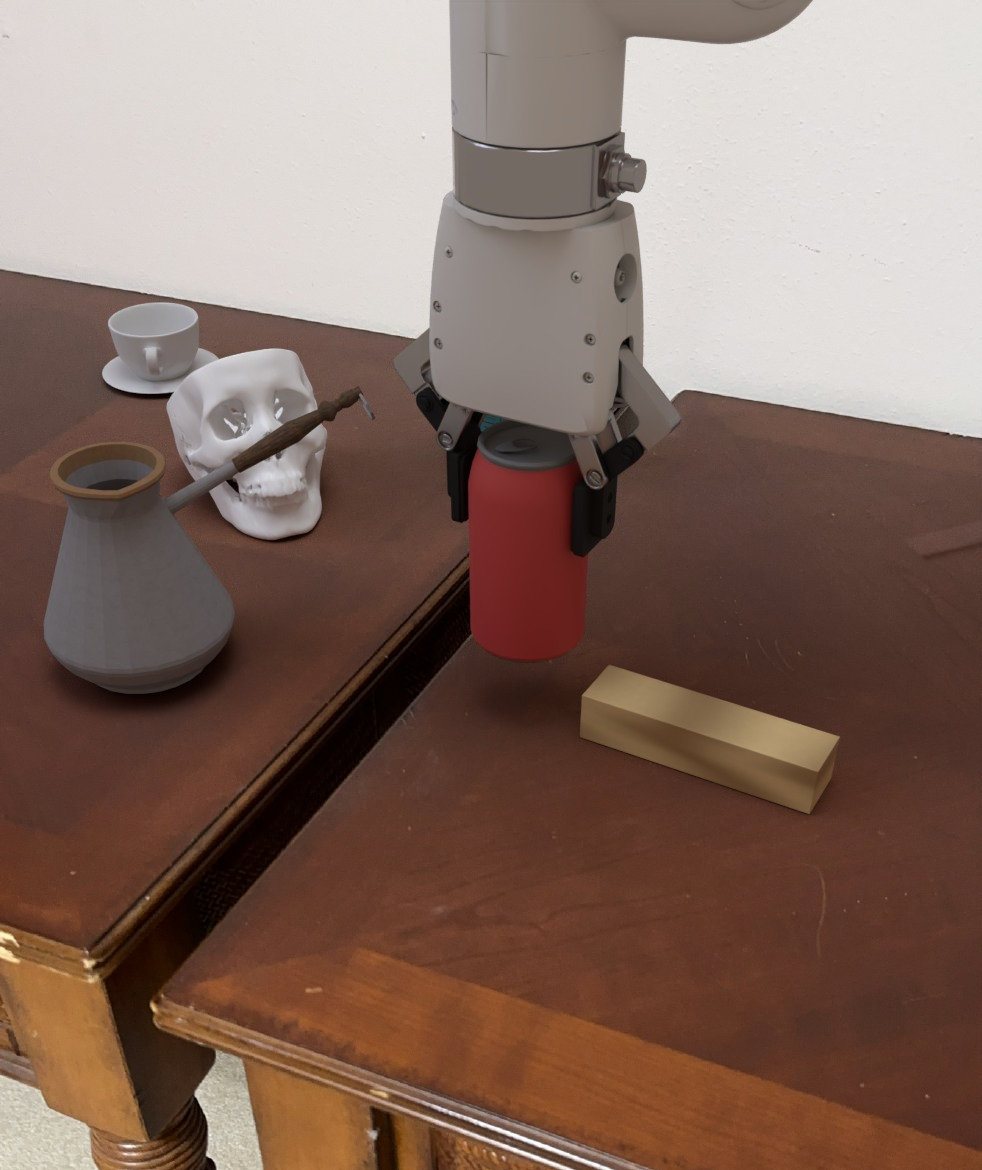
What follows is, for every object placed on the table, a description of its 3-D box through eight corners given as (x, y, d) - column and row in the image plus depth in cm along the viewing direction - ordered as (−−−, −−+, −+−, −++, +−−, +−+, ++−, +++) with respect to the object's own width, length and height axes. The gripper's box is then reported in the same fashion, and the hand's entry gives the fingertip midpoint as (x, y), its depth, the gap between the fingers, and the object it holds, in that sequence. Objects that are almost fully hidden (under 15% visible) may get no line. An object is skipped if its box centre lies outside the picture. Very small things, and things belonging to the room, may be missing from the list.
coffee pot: (69, 731, 79) (4, 495, 68) (41, 630, 86) (-20, 404, 76) (414, 655, 84) (403, 426, 74) (359, 566, 92) (342, 348, 82)
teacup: (109, 353, 118) (98, 299, 115) (223, 348, 119) (216, 294, 116) (97, 402, 111) (85, 346, 108) (219, 396, 112) (211, 340, 109)
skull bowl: (221, 549, 91) (171, 361, 88) (196, 564, 104) (152, 401, 101) (368, 517, 94) (324, 334, 91) (326, 536, 107) (287, 376, 104)
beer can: (453, 620, 79) (448, 425, 71) (554, 596, 81) (561, 403, 73) (497, 680, 75) (497, 479, 66) (604, 653, 77) (616, 454, 68)
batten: (831, 779, 75) (840, 736, 73) (809, 814, 73) (818, 771, 71) (606, 706, 80) (608, 664, 78) (579, 737, 78) (581, 695, 76)
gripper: (746, 177, 60) (704, 537, 72) (416, 124, 66) (429, 464, 79) (678, 227, 55) (645, 603, 68) (329, 165, 62) (357, 519, 74)
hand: (529, 525), depth 73 cm, fingers closed on beer can, 6 cm apart
